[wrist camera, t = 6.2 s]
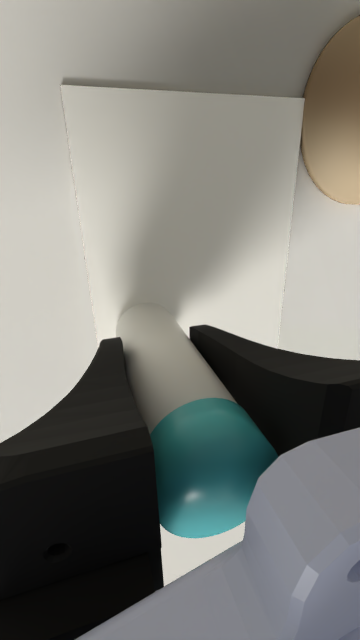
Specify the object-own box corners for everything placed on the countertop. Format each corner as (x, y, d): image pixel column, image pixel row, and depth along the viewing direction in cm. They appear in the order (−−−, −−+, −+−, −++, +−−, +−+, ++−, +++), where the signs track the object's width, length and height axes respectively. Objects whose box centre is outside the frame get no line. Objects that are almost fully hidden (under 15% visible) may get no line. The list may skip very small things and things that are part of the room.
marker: (177, 354, 14) (274, 515, 7) (117, 364, 14) (158, 553, 6) (175, 297, 13) (286, 421, 6) (110, 306, 12) (150, 455, 5)
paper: (273, 363, 17) (275, 365, 17) (105, 395, 15) (105, 398, 14) (301, 99, 12) (305, 98, 12) (60, 86, 10) (60, 84, 10)
